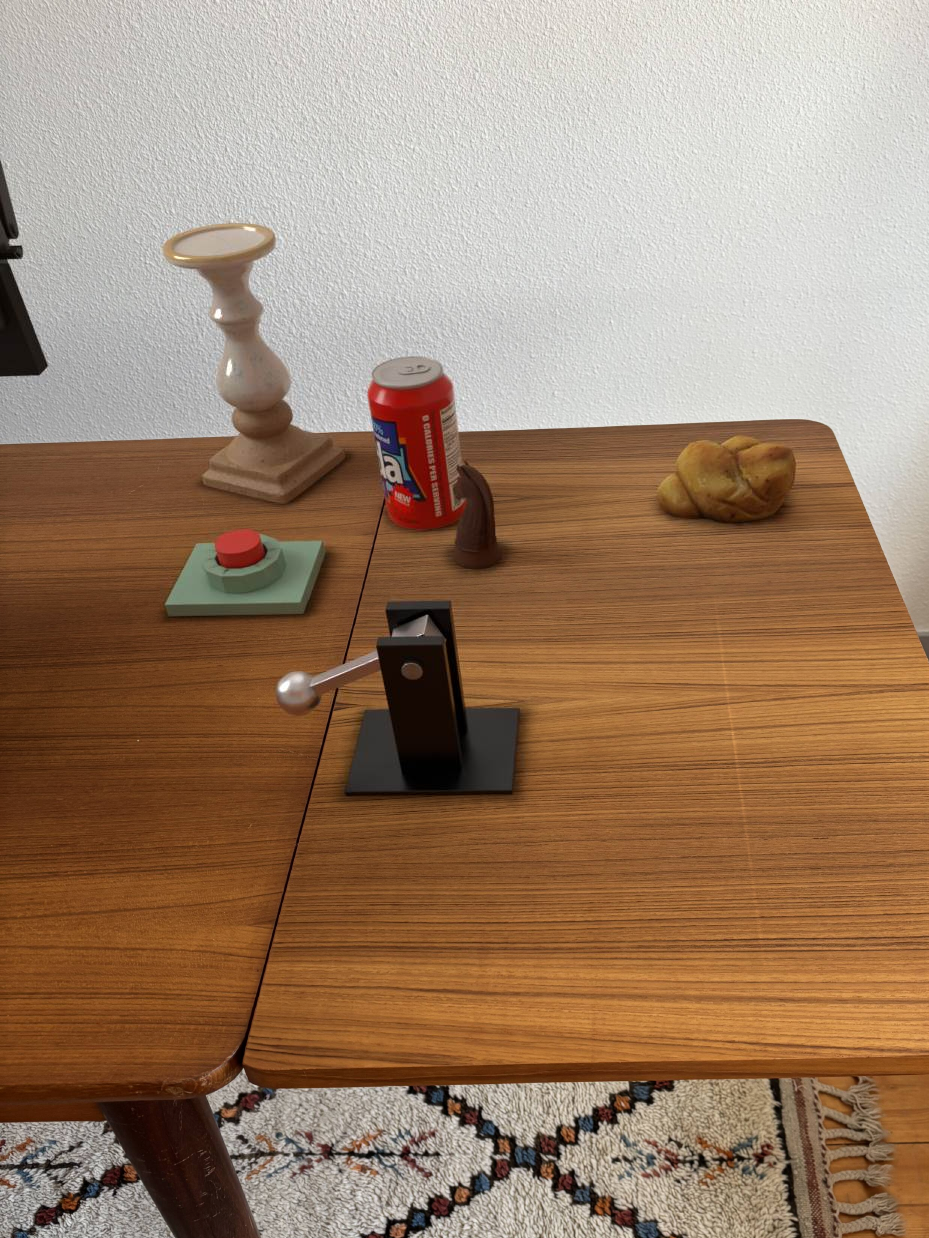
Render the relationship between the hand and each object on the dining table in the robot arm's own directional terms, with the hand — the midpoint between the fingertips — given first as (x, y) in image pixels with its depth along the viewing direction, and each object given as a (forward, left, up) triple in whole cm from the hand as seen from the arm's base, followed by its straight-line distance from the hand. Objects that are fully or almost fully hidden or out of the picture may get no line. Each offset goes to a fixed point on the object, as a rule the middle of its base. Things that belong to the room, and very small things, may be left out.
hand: (23, 370), depth 69 cm
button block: (+2, +14, -26) cm, 30 cm away
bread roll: (+41, +38, -27) cm, 62 cm away
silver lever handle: (+23, -4, -19) cm, 30 cm away
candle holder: (-6, +34, -27) cm, 44 cm away
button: (+2, +14, -23) cm, 27 cm away
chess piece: (+21, +23, -27) cm, 41 cm away
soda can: (+13, +30, -27) cm, 42 cm away
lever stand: (+27, -3, -26) cm, 38 cm away
